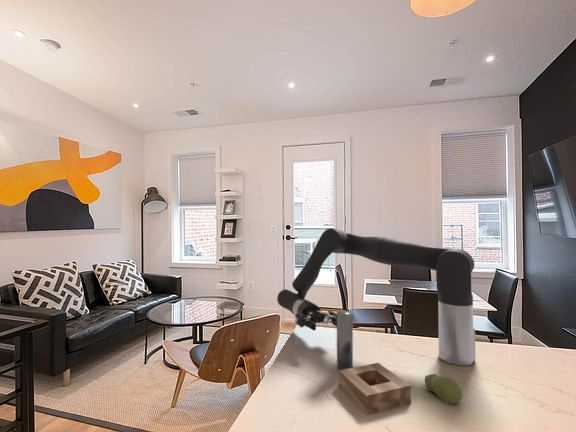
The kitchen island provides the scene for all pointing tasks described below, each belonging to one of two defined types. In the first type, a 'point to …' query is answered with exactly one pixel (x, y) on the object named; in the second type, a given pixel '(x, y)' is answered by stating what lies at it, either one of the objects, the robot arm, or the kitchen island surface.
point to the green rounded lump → (444, 388)
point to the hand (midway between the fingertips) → (327, 325)
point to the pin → (344, 340)
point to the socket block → (374, 387)
